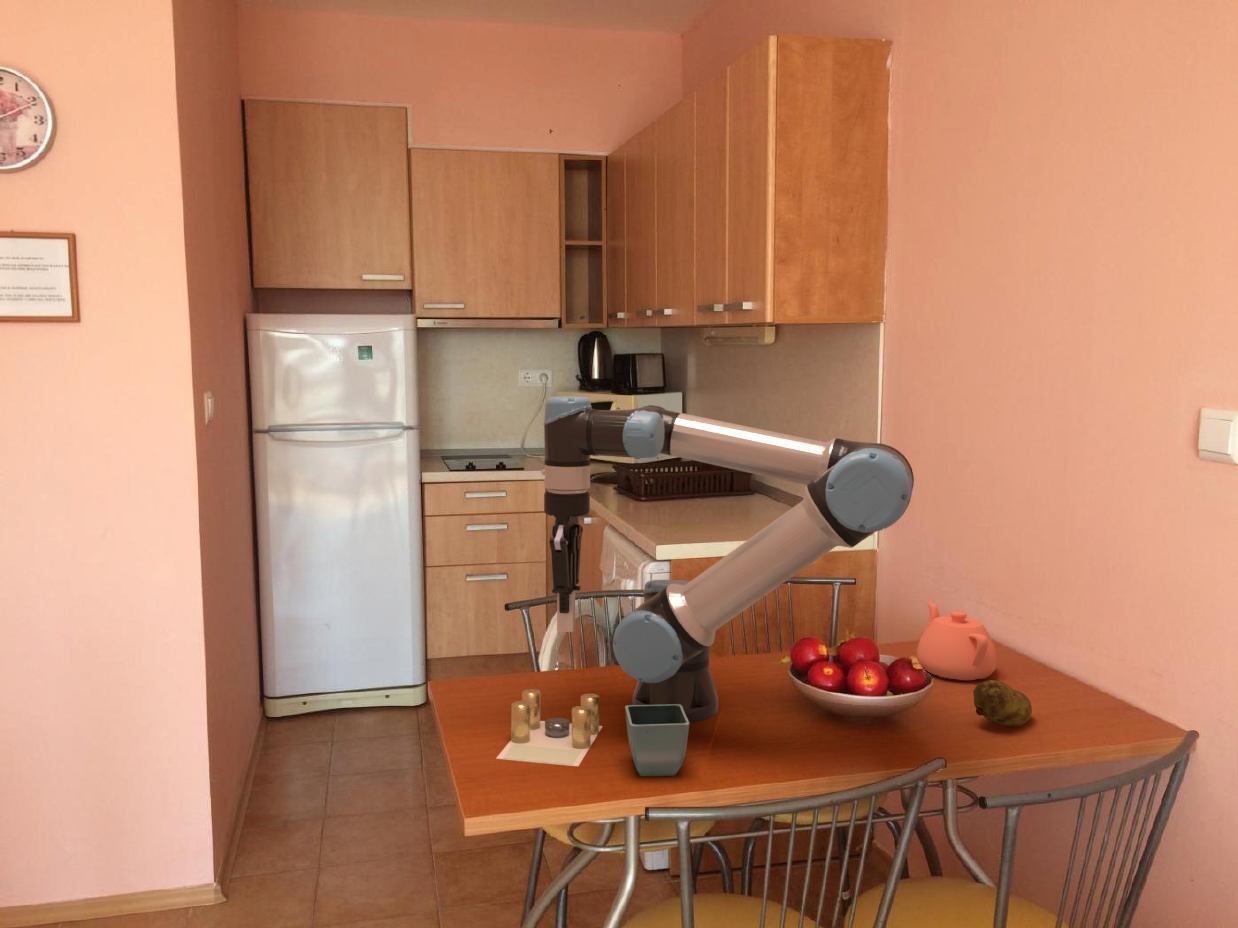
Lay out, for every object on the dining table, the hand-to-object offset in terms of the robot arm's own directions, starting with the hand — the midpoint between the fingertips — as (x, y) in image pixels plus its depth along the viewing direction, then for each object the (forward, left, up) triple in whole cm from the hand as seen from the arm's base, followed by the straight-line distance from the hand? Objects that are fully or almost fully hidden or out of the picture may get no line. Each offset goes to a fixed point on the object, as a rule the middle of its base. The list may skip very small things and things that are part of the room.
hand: (566, 630), depth 172 cm
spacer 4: (-5, +10, -16) cm, 19 cm away
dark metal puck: (0, +6, -16) cm, 17 cm away
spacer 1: (+5, +10, -16) cm, 19 cm away
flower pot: (-18, +16, -17) cm, 29 cm away
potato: (-73, -18, -17) cm, 77 cm away
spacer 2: (+5, +4, -16) cm, 17 cm away
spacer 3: (-5, +4, -16) cm, 17 cm away
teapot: (-68, -46, -17) cm, 84 cm away
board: (0, +9, -16) cm, 19 cm away
